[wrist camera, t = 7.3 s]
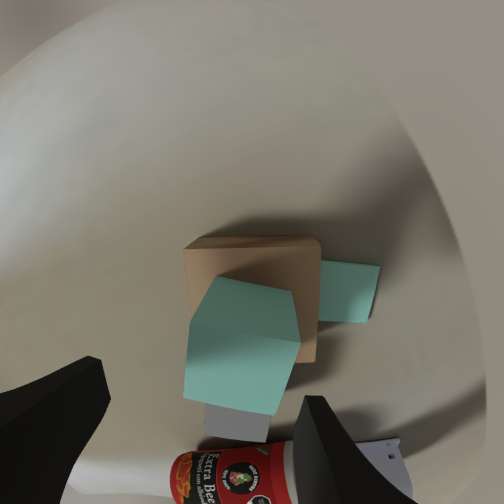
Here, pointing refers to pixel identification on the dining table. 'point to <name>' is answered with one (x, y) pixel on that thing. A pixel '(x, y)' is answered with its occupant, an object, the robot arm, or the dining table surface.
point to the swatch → (346, 291)
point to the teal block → (241, 346)
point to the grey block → (236, 423)
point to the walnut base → (262, 273)
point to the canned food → (236, 476)
